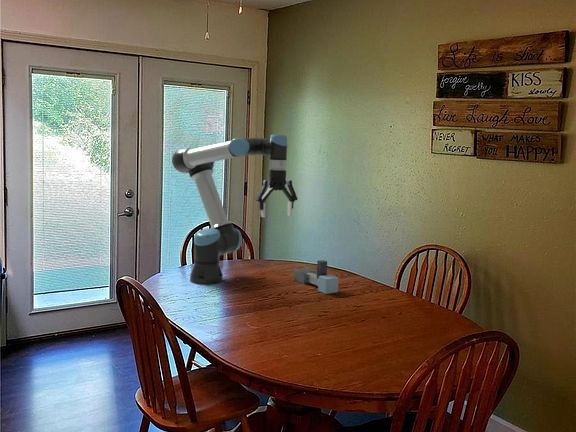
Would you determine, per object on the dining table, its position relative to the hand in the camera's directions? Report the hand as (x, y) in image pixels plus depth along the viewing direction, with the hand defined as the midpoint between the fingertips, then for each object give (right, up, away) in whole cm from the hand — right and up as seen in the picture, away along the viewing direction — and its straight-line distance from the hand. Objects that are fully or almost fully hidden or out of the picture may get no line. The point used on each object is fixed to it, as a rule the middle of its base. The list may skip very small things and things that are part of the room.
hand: (276, 216), depth 267 cm
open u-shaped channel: (+13, -31, +14) cm, 36 cm away
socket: (+23, -33, -3) cm, 41 cm away
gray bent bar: (+19, -31, +4) cm, 37 cm away
